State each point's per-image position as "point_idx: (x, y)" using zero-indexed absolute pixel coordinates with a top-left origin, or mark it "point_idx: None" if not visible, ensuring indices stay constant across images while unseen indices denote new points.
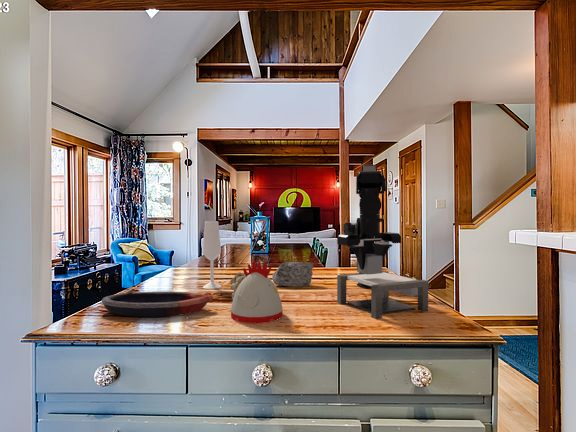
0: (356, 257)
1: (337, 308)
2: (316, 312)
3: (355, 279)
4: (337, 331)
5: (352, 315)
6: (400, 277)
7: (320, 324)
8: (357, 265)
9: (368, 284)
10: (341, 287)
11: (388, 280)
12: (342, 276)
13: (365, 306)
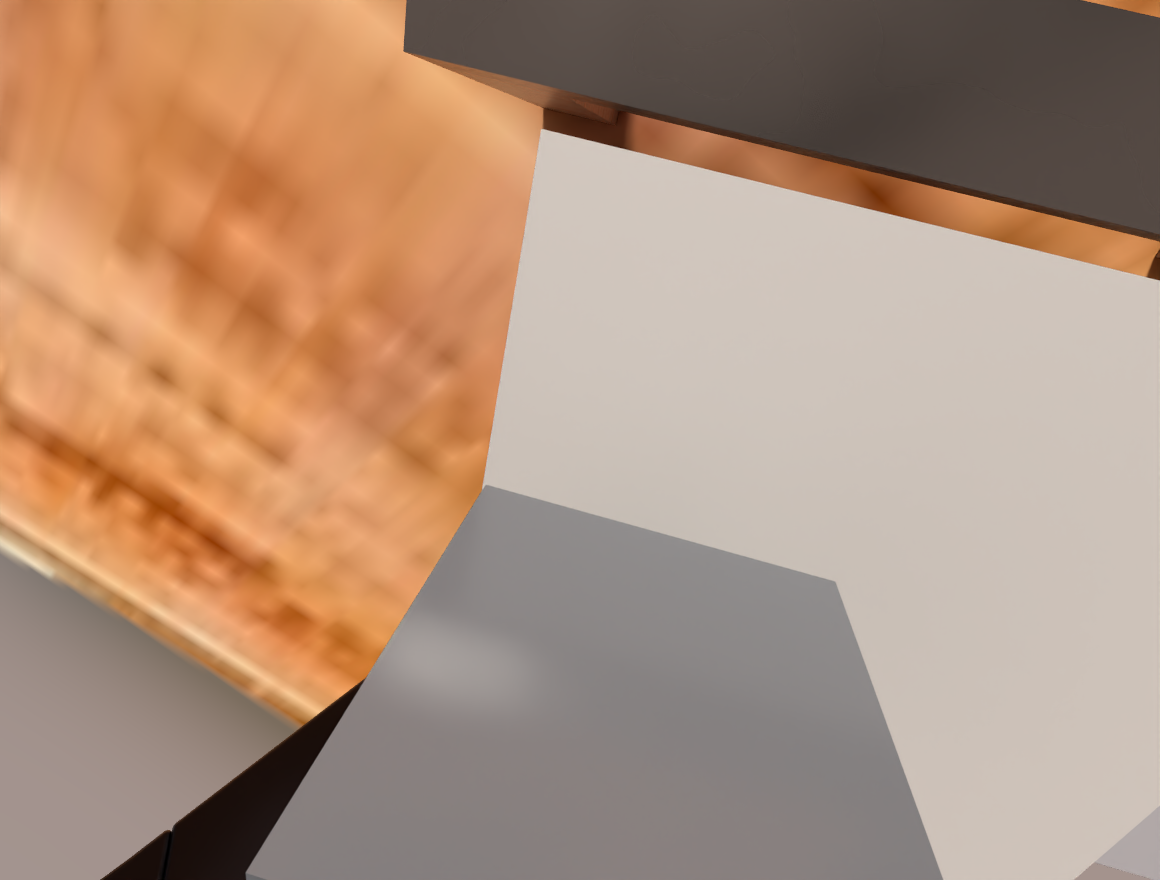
0: (152, 846)
1: (410, 218)
2: (177, 195)
3: (500, 402)
4: (144, 570)
5: (389, 445)
6: (1072, 793)
7: (100, 438)
8: (433, 571)
9: None
10: (496, 86)
11: None
12: (453, 60)
13: None
